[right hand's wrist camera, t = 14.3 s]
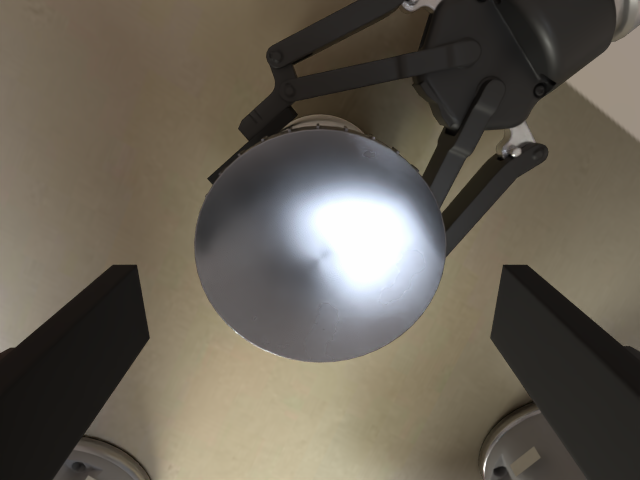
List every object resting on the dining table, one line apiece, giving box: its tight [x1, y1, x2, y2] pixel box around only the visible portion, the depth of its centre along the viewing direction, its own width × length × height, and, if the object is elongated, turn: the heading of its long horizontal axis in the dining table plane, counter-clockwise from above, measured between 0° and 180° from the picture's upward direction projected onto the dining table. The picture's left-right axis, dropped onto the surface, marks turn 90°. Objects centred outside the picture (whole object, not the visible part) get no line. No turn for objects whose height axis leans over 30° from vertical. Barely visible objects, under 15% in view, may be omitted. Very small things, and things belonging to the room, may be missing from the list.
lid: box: [194, 123, 446, 362], centre depth 17 cm, size 10×10×2 cm
